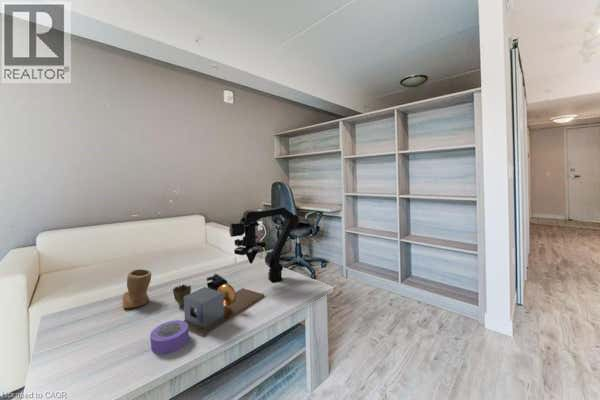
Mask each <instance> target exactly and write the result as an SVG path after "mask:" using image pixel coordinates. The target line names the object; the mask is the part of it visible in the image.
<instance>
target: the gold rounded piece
mask: <svg viewBox="0 0 600 400" xmlns="http://www.w3.org/2000/svg"><path fill="white" fill-rule="evenodd" d="M217 291H219V292H223V298H224V306H229V305H231V304H232V303H234V302H235V299H236V294H235V292H236V290H235V288H234V287H233V286H232V285H231V284H230V283H228V284H224V285H222V286H220V287H219V288H218V289H217ZM193 313H194V315H197V309H195V308H193Z"/></svg>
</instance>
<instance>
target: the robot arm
mask: <svg viewBox="0 0 600 400" xmlns="http://www.w3.org/2000/svg"><path fill="white" fill-rule="evenodd" d="M275 216H281V217H282V218H283V219H284V220H283V228H282V230H281V232H280V234H279V236H278V238H277V240H276V243H275V245H274V247H273V249H272V250H271V251H267V254H266V256H265V257H264V263H265V264H266V266H268V268H269V269H268V277H267V279H268V280H269V281H270V282H271V283H276V282H281V281H283V280H284V279H283V277H282V273H283V272H282V271H283V269H284V266H283V265H281V263H280V261H281V254H282V252H283V249H284V247H285V245H286V243H287V240H288V238H289V236H290V235H291V232H292V231H293V230H294V228H296V227H297V225H298V224H299V222H300V219H299V216H298V215H297V214H293V212H291V211H289V210H288V209H287V208H286V207H284V206H278V207H274V208H269V209H261V210H255V209H254V210H252V209H251V210H250V209H249V210H245V211H244V212H243V214H242V218H241V219H240V220H239V222H236V223H235V222H234V223H233V222H232V223H230V226H229V236H230V237H231V238H234V237H241V236H243V235H244V236H243V237H242V239H240V238H238V239H234V246H236V247H235V248H234V249H233V250H234V255H240V256H246V257H247V260H248V262H249V264H251V265H252V264H253V262H254V260H255V258H256V256H257V254H258V252H259V251H260V249H258V247H260V248H261V249H264V248H265V247H266V245H267V244H266V242H265V241H262V240H257V239H258V235H257V227H258V226H260V223H259V222H258V221H259V220H261V219H265V218H268V217H269V218H270V217H275ZM256 226H257V227H256Z"/></svg>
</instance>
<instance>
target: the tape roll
mask: <svg viewBox="0 0 600 400" xmlns="http://www.w3.org/2000/svg"><path fill="white" fill-rule="evenodd" d="M149 337H150V348H151V349H150V350H151V351H152V352H153V353H154V354H156V355H157V354H158V355H165V354H166V355H167V354H171V353H173V352H174V353H175V352H177V351H179V350H180V349H182V348H183V347H184V346H186V344H187V343H188V342H189V330H188V324H187V323H186V322H185V321H184V320H180V319H178V320H175V319H174V320H171V321H170V320H169V321H166V322H164V323H161V324H159V325H157V326H156V327H155V328H154V329H152V331H150V336H149Z"/></svg>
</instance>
